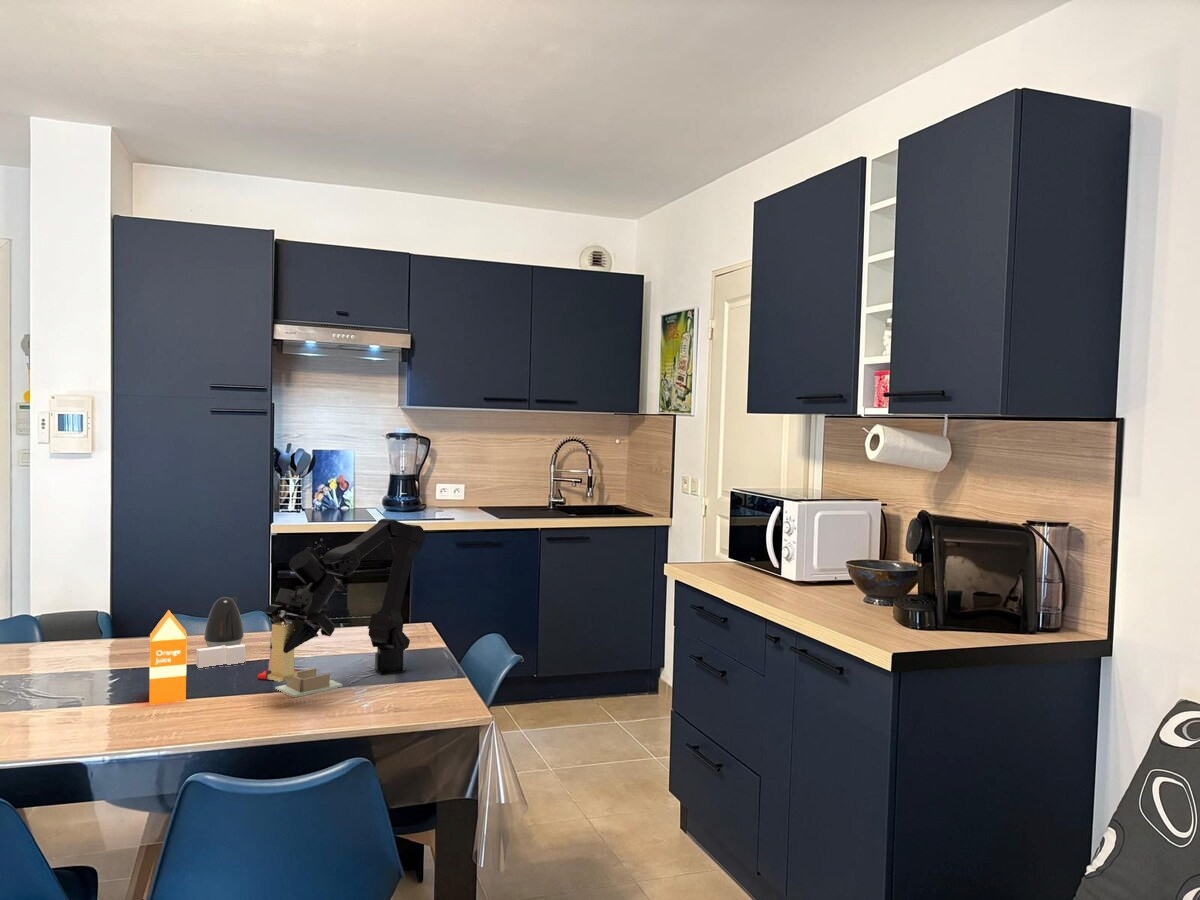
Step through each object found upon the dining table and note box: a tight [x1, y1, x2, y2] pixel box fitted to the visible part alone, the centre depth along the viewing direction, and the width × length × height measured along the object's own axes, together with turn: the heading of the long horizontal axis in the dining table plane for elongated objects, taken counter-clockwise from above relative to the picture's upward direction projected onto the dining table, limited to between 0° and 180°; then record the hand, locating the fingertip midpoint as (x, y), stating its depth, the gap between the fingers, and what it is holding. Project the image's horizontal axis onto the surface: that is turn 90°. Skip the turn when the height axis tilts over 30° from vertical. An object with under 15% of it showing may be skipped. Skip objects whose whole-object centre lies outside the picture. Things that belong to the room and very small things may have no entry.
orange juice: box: [148, 609, 188, 706], centre depth 202 cm, size 8×9×20 cm
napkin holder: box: [195, 643, 247, 669], centre depth 229 cm, size 15×11×6 cm
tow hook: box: [257, 636, 297, 681], centre depth 222 cm, size 8×13×9 cm
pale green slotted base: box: [274, 667, 343, 698], centre depth 212 cm, size 13×9×4 cm
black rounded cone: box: [203, 596, 244, 648], centre depth 245 cm, size 10×10×15 cm
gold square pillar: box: [268, 622, 297, 683], centre depth 198 cm, size 5×4×12 cm
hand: (278, 650), depth 197 cm, fingers closed on gold square pillar, 4 cm apart
